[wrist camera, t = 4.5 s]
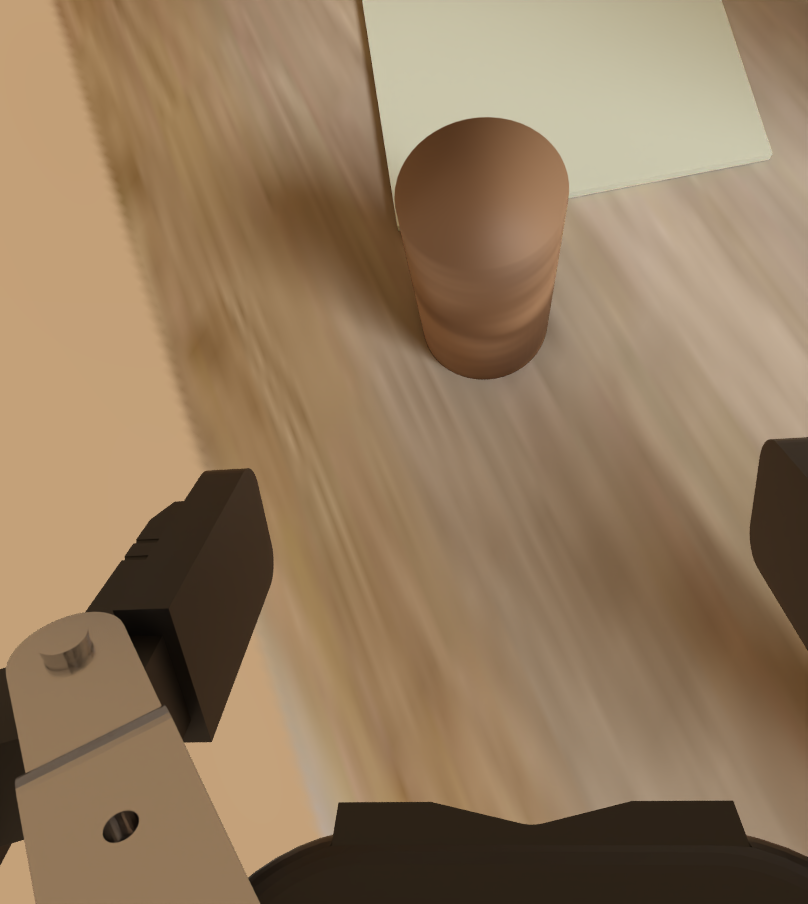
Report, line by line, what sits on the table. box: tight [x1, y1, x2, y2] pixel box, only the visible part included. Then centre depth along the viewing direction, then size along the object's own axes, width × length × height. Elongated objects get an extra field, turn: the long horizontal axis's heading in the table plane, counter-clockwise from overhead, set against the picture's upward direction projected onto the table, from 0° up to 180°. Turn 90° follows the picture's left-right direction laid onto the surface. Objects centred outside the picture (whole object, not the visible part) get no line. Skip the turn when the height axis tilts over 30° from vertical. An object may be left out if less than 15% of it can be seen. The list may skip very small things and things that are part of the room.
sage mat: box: [362, 0, 773, 231], centre depth 33 cm, size 16×14×1 cm
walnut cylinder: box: [394, 117, 569, 379], centre depth 26 cm, size 5×5×9 cm
